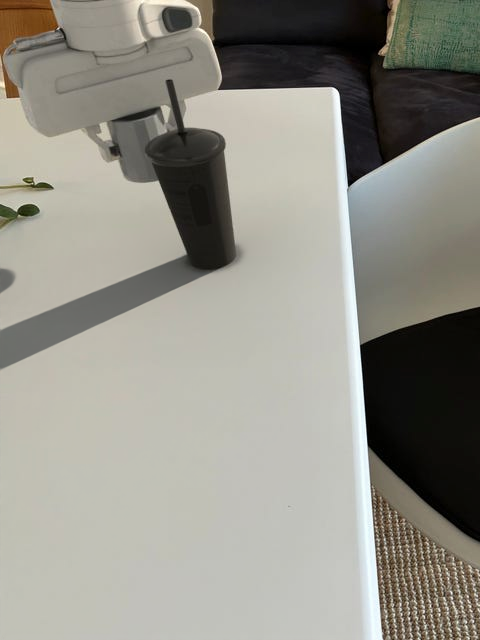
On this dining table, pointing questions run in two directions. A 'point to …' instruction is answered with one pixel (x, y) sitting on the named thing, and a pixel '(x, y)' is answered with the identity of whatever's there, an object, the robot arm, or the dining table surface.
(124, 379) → the dining table surface
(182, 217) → the drinking cup
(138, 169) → the grey faceted cup
